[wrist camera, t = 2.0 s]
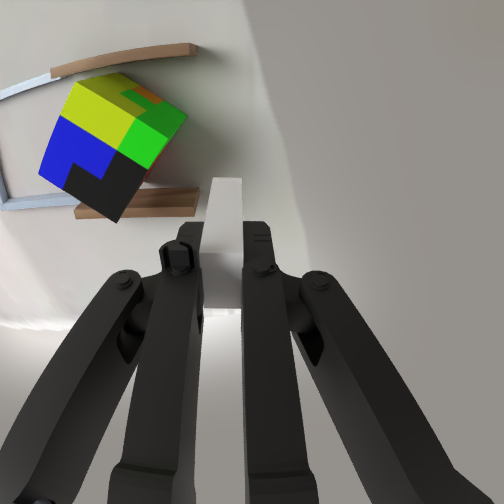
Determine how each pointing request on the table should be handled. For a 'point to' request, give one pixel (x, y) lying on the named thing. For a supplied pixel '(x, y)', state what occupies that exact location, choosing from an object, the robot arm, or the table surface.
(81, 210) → the channel
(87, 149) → the puzzle toy
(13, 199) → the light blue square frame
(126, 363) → the robot arm
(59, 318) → the table surface
